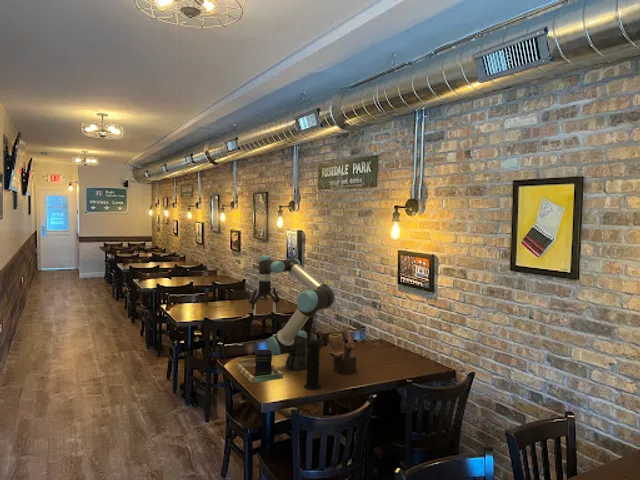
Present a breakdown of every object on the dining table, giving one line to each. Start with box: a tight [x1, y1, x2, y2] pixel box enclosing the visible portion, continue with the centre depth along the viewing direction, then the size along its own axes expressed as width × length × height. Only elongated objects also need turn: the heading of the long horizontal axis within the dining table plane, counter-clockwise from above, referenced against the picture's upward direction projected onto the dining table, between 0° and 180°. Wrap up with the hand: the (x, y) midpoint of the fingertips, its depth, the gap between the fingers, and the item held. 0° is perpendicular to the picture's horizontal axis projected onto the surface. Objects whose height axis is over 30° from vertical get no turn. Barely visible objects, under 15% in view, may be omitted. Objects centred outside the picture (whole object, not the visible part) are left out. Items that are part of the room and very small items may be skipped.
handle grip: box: [303, 339, 323, 391], centre depth 263 cm, size 10×26×10 cm
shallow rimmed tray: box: [235, 357, 284, 384], centre depth 285 cm, size 29×19×5 cm, turn 28°
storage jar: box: [254, 348, 273, 377], centre depth 278 cm, size 10×10×15 cm
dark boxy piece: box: [332, 344, 357, 376], centre depth 288 cm, size 16×11×18 cm
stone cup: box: [328, 332, 352, 356], centre depth 323 cm, size 15×12×15 cm
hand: (264, 313), depth 300 cm, fingers open, 13 cm apart
